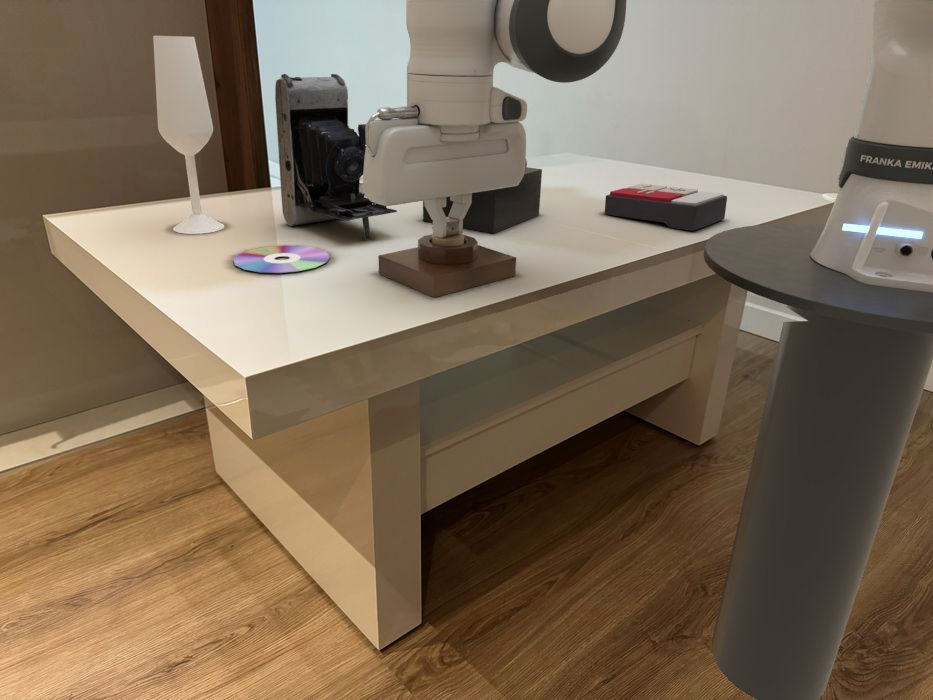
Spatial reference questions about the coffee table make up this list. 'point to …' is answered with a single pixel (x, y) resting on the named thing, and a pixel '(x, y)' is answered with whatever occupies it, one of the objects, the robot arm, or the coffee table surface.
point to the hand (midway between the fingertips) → (447, 235)
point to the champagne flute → (184, 115)
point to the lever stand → (501, 205)
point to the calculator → (667, 205)
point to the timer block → (446, 266)
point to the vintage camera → (320, 153)
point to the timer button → (448, 240)
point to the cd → (267, 263)
